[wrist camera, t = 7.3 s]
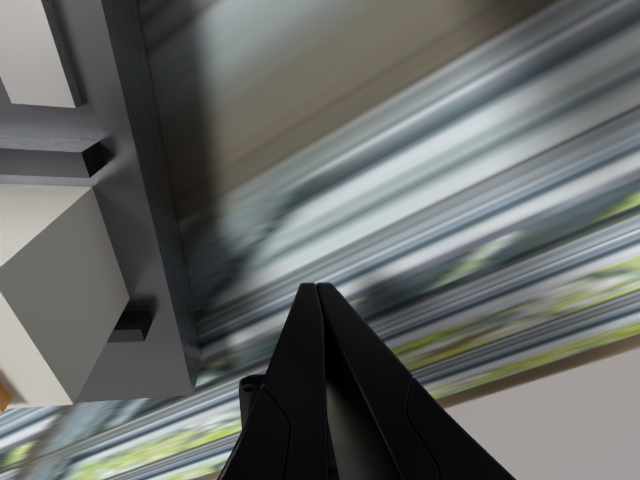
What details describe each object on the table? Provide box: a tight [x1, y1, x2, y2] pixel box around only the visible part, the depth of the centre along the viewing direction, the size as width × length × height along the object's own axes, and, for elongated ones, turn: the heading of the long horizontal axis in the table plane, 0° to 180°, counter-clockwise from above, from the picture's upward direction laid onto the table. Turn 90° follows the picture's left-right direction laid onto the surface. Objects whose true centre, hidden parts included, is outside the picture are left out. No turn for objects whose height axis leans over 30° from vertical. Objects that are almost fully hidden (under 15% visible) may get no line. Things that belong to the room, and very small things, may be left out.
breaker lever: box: [0, 184, 130, 412], centre depth 7 cm, size 4×3×4 cm
